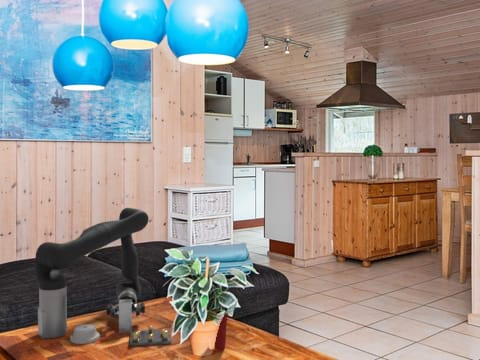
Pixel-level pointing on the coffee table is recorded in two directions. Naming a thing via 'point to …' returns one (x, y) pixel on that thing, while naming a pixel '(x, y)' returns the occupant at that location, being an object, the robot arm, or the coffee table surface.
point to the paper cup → (221, 334)
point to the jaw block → (125, 316)
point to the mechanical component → (84, 334)
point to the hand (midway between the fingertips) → (125, 314)
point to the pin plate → (145, 338)
